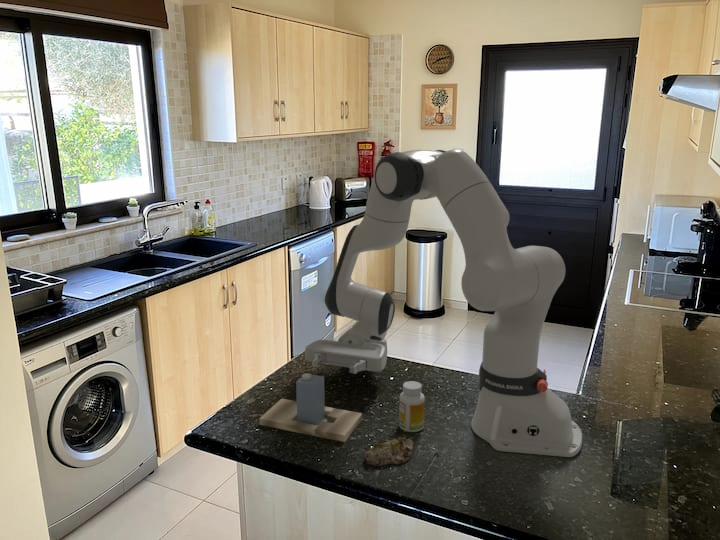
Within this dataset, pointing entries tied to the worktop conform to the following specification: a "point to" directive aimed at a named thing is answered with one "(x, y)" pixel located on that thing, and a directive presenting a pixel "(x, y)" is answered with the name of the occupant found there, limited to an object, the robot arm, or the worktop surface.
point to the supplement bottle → (411, 407)
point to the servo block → (310, 399)
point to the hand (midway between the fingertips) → (333, 367)
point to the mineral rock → (390, 452)
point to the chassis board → (337, 429)
